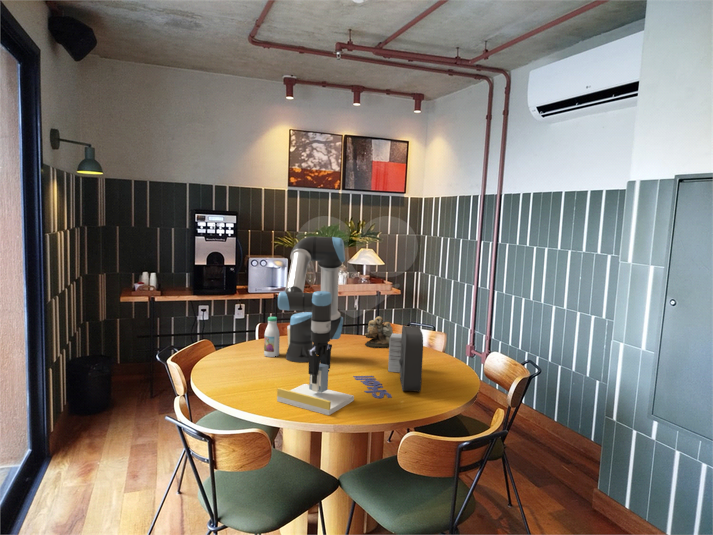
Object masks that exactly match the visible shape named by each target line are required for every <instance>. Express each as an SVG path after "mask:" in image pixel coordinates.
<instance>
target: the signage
mask: <svg viewBox="0 0 713 535" xmlns="http://www.w3.org/2000/svg"><path fill="white" fill-rule="evenodd" d="M352 377H353V378H354V380H356V381H360V383H362V384H363V385H364V386H366V388H367V390H364V391H363V392H364V393H367V394H371V396H372V397H373V398H375V399H384V395H385V396H386V398H387V399H391V398H392V394H391V393H389V392H388V391H387V389H383V388H384V386H383V384H382V383H380V382H381V381H379V380H377V378H375V376H374V375H353V376H352ZM377 393H379V395H378V394H377Z"/></svg>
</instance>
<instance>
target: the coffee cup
mask: <svg viewBox="0 0 713 535" xmlns="http://www.w3.org/2000/svg"><path fill="white" fill-rule="evenodd" d="M286 328H287V348H288V347H289V344H290V324H288V325H287V327H286Z"/></svg>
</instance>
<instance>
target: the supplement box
mask: <svg viewBox="0 0 713 535" xmlns="http://www.w3.org/2000/svg"><path fill="white" fill-rule="evenodd" d="M401 339H402V333H394V332H393V333H392V335H391V336H390V340H389V348H388V365H387V366H388V369H387V371H388V372H390V373H392V372H393V373H400V364H399V360H400V358H401Z"/></svg>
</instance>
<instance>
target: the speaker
mask: <svg viewBox="0 0 713 535" xmlns="http://www.w3.org/2000/svg"><path fill="white" fill-rule="evenodd" d="M401 334H402V339H401V358H400V360H399V364H400V372H399V377H400V378H399V379H400V386H401V390H402V392H405V391H406V392H409V391H411V392H418V393H420V392H421V390H422V376H423V356H424V334H423V332H422V330H421V327H420V325H416V326H408V325H402V327H401Z"/></svg>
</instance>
